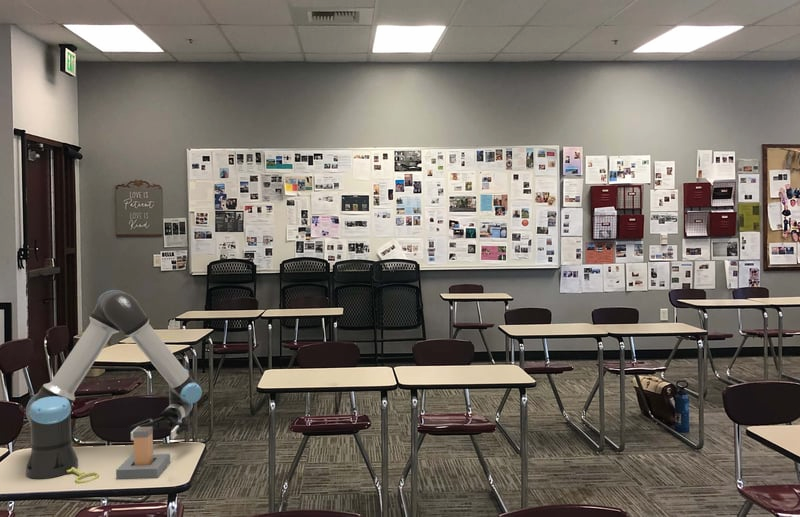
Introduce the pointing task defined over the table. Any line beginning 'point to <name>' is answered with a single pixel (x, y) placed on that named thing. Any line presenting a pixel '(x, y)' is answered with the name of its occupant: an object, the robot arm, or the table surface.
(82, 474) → the key
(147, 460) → the plug
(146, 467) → the socket block
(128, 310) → the robot arm
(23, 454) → the table surface
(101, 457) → the table surface
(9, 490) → the table surface
